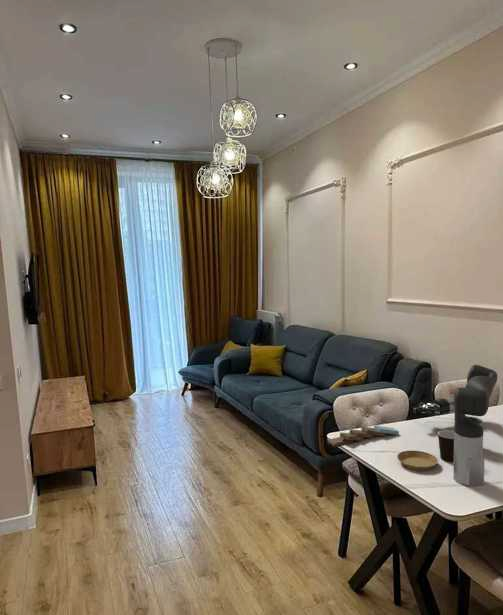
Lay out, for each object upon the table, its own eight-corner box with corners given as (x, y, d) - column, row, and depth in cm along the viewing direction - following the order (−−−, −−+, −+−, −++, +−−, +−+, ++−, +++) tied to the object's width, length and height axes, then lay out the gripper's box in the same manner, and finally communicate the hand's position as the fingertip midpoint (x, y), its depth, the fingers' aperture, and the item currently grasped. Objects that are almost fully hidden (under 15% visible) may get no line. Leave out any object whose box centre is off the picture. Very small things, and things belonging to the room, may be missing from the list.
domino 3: (366, 431, 205) (350, 429, 200) (373, 434, 201) (357, 432, 196) (365, 434, 205) (349, 432, 200) (373, 437, 201) (356, 436, 196)
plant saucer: (412, 475, 165) (412, 469, 165) (389, 459, 179) (389, 453, 179) (446, 469, 169) (446, 463, 169) (421, 454, 183) (421, 448, 183)
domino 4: (380, 429, 207) (361, 426, 204) (386, 433, 202) (367, 429, 199) (379, 432, 207) (360, 429, 204) (385, 436, 202) (366, 433, 199)
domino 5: (392, 427, 208) (374, 425, 205) (399, 431, 204) (380, 428, 201) (392, 431, 208) (373, 428, 205) (398, 435, 204) (379, 432, 201)
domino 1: (346, 435, 201) (327, 439, 197) (352, 439, 197) (334, 443, 192) (346, 438, 201) (327, 443, 197) (352, 442, 197) (334, 447, 193)
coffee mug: (447, 465, 172) (447, 439, 172) (432, 456, 181) (433, 431, 180) (472, 460, 176) (473, 436, 175) (457, 452, 184) (457, 428, 183)
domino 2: (356, 433, 202) (340, 432, 197) (364, 437, 198) (348, 436, 193) (355, 437, 202) (339, 436, 197) (363, 440, 198) (347, 439, 193)
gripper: (455, 418, 208) (423, 423, 203) (435, 409, 220) (405, 414, 215) (455, 402, 207) (423, 407, 202) (435, 394, 220) (405, 398, 214)
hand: (414, 410), depth 209 cm, fingers closed
